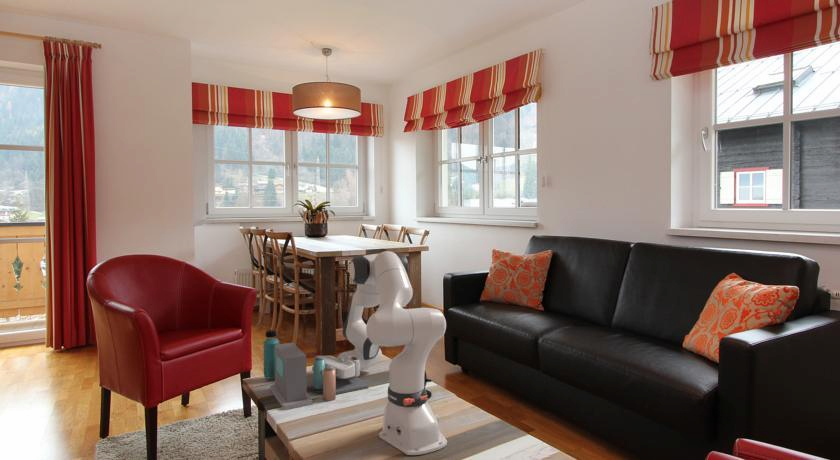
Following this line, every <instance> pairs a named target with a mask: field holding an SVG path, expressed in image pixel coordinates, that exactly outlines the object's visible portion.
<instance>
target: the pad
mask: <svg viewBox="0 0 840 460" xmlns="http://www.w3.org/2000/svg"><path fill="white" fill-rule="evenodd" d="M367 389H369V385H368V384H367V383H365V381H363V380H362V379H361V378H359V376H357V377H355V376H354V377H350V378H346V379H342V378H339V377H337V378H336V396H337V395H341V394H342V395H343V394H346V393H351V392H356V391H361V390H367Z"/></svg>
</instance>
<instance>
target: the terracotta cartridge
mask: <svg viewBox="0 0 840 460" xmlns="http://www.w3.org/2000/svg"><path fill="white" fill-rule="evenodd" d="M336 377H337V376H336V369H335V368H334V366H332V365H328V366H325V368H324V369H323V389H322V390H323V391H322V392H323V393H322V394H323V395H322V396H323V397H322V399H323V401H325V402H333V401H335V400H336V396H337V395H336V379H337V378H336Z"/></svg>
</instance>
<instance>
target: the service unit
mask: <svg viewBox="0 0 840 460" xmlns="http://www.w3.org/2000/svg"><path fill="white" fill-rule="evenodd" d="M307 378H308V377H307V354H306V353H304V352H303V351H302V350H301V349H300V348H299V347H298V346H297V345H296V344H295V343H294V342H288V343H287V342H286V343H279V345H275V378H274V384H270V385H269V390H270V391H271V392H272V394H273V396H274V397H275V399H276V400H277V402H278V404H280V406H281V408H282V409H283V411H287V410H292V409H297V408H302V407H307V406H311V405H313V404H314V403H313V399H312V397H310V396H309V394H308V390H307V388H308V387H307V384H308V383H307Z"/></svg>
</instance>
